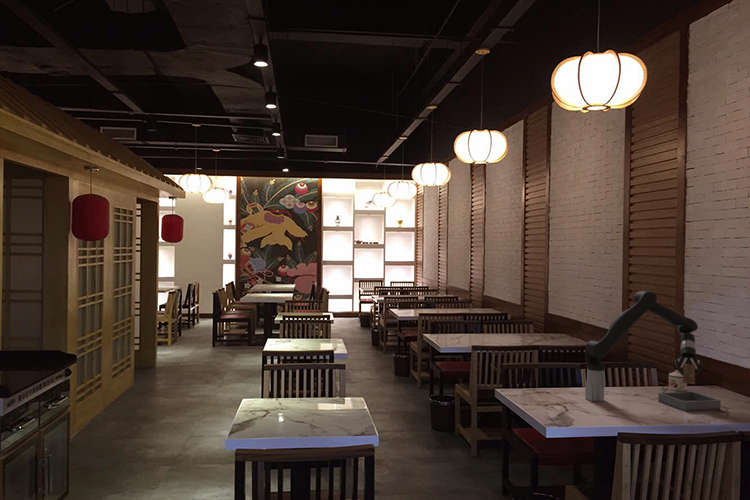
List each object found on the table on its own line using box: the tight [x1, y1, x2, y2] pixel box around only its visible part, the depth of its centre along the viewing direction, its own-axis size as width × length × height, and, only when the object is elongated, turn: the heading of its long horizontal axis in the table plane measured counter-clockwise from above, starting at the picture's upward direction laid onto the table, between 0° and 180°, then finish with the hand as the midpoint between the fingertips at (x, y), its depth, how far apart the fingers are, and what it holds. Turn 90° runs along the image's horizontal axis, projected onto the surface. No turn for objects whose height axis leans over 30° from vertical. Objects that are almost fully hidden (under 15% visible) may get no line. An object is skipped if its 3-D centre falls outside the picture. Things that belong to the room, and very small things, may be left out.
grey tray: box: [658, 390, 722, 413], centre depth 309 cm, size 22×20×5 cm
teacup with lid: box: [668, 369, 688, 392], centre depth 344 cm, size 12×9×12 cm
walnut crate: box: [683, 363, 696, 385], centre depth 309 cm, size 6×6×10 cm
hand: (689, 375), depth 307 cm, fingers closed on walnut crate, 5 cm apart
